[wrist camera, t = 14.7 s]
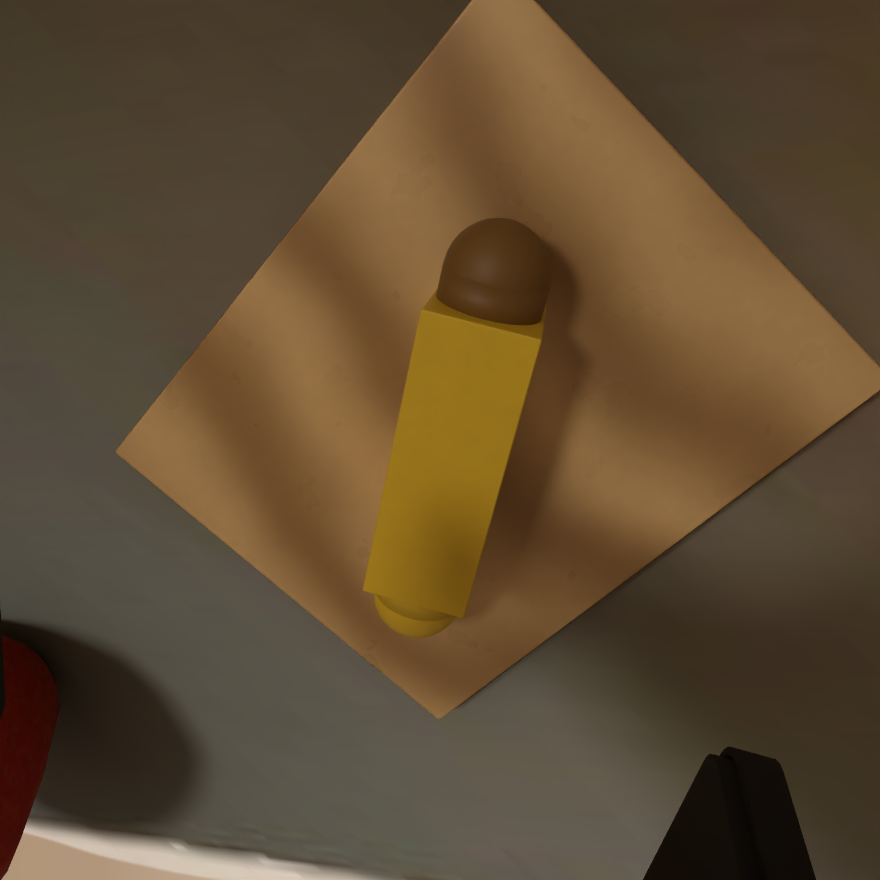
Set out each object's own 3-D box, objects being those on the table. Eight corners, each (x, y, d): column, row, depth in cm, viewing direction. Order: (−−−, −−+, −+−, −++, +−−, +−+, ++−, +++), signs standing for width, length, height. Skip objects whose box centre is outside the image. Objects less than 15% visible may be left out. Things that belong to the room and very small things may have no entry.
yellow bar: (461, 197, 22) (440, 214, 19) (569, 223, 22) (568, 246, 18) (378, 581, 28) (349, 651, 24) (462, 604, 28) (446, 679, 24)
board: (504, -28, 21) (499, -37, 20) (875, 365, 24) (894, 381, 22) (135, 436, 29) (113, 452, 28) (444, 694, 31) (438, 720, 30)
